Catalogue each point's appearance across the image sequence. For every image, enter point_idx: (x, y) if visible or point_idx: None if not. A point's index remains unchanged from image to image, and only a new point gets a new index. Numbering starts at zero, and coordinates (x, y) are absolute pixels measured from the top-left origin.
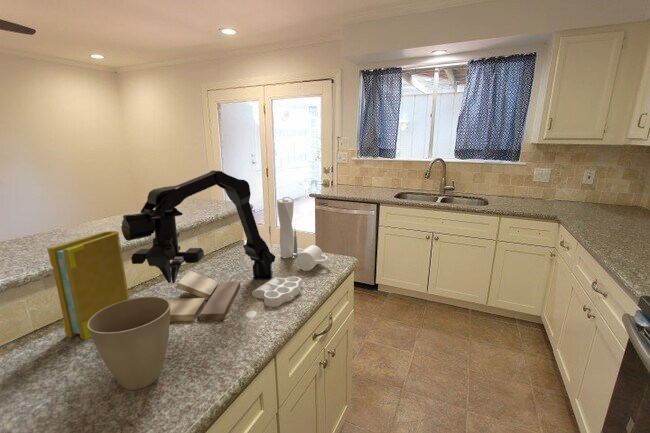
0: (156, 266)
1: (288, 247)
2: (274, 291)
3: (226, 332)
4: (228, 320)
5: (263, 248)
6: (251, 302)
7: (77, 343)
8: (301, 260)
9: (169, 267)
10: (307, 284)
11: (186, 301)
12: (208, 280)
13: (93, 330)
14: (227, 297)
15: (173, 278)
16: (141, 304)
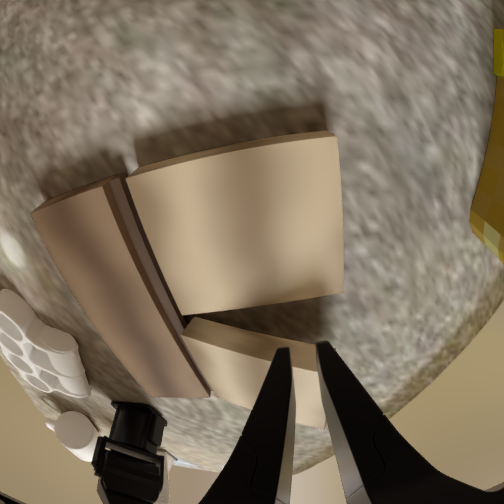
0: (468, 494)
1: None
2: (15, 338)
3: (2, 133)
4: (33, 199)
5: (99, 478)
6: (55, 308)
7: (499, 15)
8: (79, 434)
9: (343, 477)
10: None
11: (250, 281)
12: (243, 400)
13: None
14: (102, 319)
15: (270, 386)
16: None
